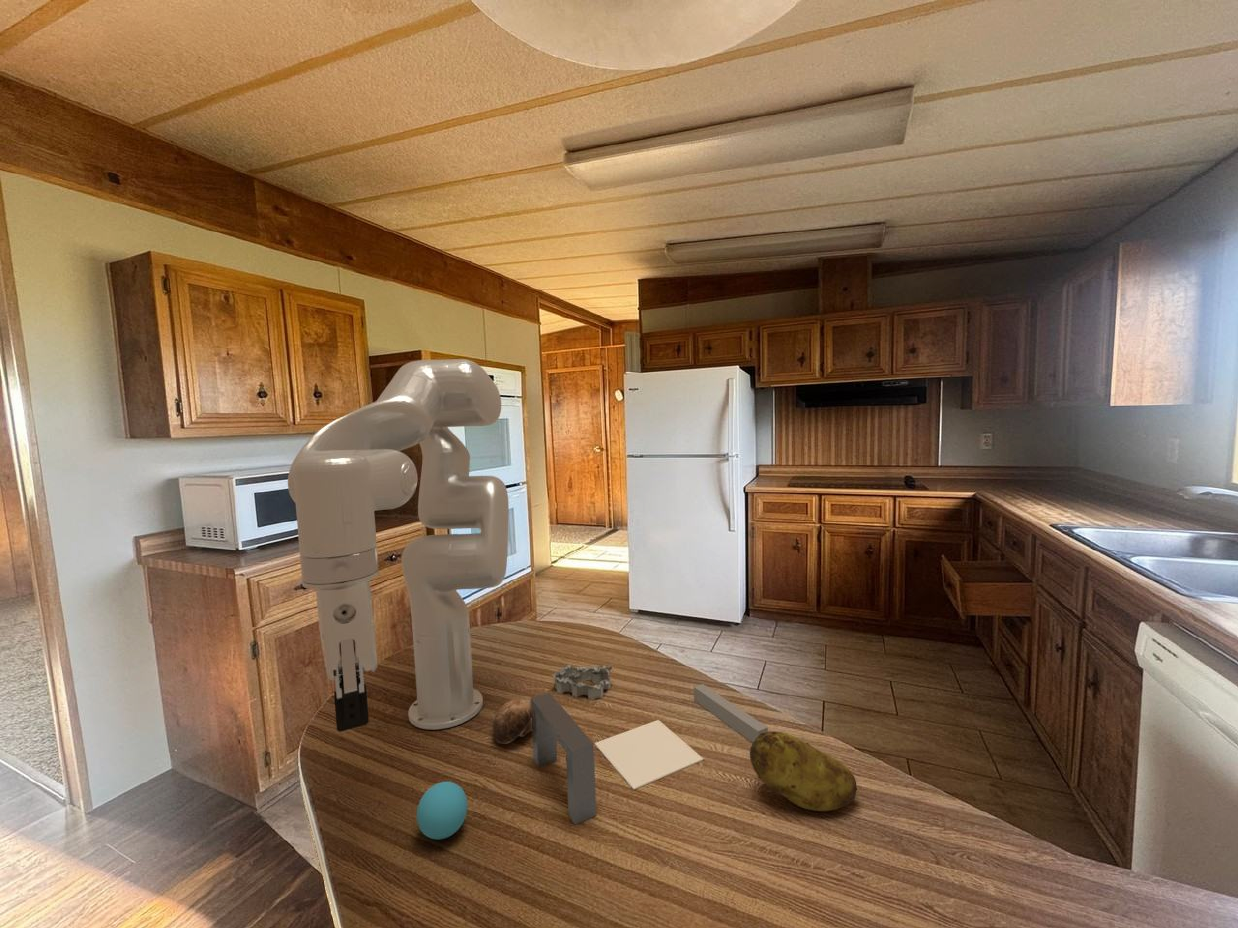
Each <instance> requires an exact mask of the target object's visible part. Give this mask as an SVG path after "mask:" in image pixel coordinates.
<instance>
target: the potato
mask: <svg viewBox="0 0 1238 928" xmlns="http://www.w3.org/2000/svg"><path fill="white" fill-rule="evenodd" d="M749 759H750V763H751V765H752V768H753V771H754V772H755V773H756V776H757V777H758V778H759V779H760V781H763V783H764V784H765V785H766V786H767V787H768V788H769V789H770V790H771V791H773V792H775V793H776V794H778V795H780V796H783V797H784V798H786V799H787V800H788V801H790V802H791V803H792V804H794V805H796V806H797V807H800V808H802V809H805V810H808V811H815V812H830V811H831V812H832V811H835V810H838V809H841V808H843V807H847V806H848V805H850V804H851V803H852V802H853V801H854V800H855V797H856V794H857V790H858V788H857V780H856V778H855V776H854V774H853V772H852V771H851V770H850V769H849V767H847V766H846V765H844V764H843V763H842V762H840V761H838V760H837V759H836V758H834V757H832V756H830V755H828V754H827V753H825V752H823V751H820V750H819V749H818V748H816V747H814V746H812V745H811V744H810V743H808V742H805V741H803V740H801V739H799V738H797V737H795V736H793V735H791V734H789V733H786V732H782V731H773V730H771V731H768V732H767V733H761V734H760V735H759V736H758V737H757V738H756V739H755V741H754V742H753V743H751V747H750V749H749Z"/></svg>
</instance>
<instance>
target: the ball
mask: <svg viewBox="0 0 1238 928" xmlns="http://www.w3.org/2000/svg"><path fill="white" fill-rule="evenodd" d="M416 808H417V809H416V822H417V826H418V828H419V831H420V832H421V833H422V834H423V835H424V836H426V837H427V838H430V839H432V840H444V839H447V838H449V837H451V836H452V835H454V834H455V833H456V832H457V831H458V830H459V829H460V828H461V827H462V825H463V823H464V822H465V819H466V817H467V814H468V798H467V795H466V793H465V791H464V789H463V788H462V787H461V786H459V784H456V783H455V782H452V781H440V782H438V783H436V784H435V783H434V784H433V785H432V786H431V787H429V788H428V789H427V790H426V791H425V792H424V793H423V794H422V796H421V798H420V800H419V803H418V804H417V807H416Z"/></svg>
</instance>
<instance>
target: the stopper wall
mask: <svg viewBox="0 0 1238 928" xmlns="http://www.w3.org/2000/svg"><path fill="white" fill-rule="evenodd" d="M693 700H694V701H695V702H696V703H697V704H698V705H700V706H701V707H703V708H704V709H705V710H707V711H708V712H709V713H711V714H712V715H714V716H715V717H716V718H718V719H719V720H720V721H722V722H723V723H725V724H726V725H727V726H728V727H730V728H731V729H733V730H734V731H735V732H737V733H738V734H740V735H741V736H742V737H744V738H745V739H747V740H748V741H749V742H751V744H753V742H754V741H755V739H756V738H757V737H758V736H759V735H760V734H761V733H767V732H769V729H768V728H769V727H768V726H767V725H765V724H764V723H762V722H761V721H759V720H758V719H756V718H754V717H753V716H751V715H750V714H748V713H747V712H745V711H744V710H743V709H741V708H740V707H738V706H736V705H735V704H734V703H732V702H731V701H729V700H727V699H726V698H724V697H723V696H722V695H720V694H719V693H717V692H716V691H715V690H713V689H711V688H710V687H708V686H707V685H705V684H703V683H702V684H698V685H696V686H694V687H693Z"/></svg>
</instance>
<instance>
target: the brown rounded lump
mask: <svg viewBox="0 0 1238 928" xmlns="http://www.w3.org/2000/svg"><path fill="white" fill-rule="evenodd" d="M492 722H493V723H492V732H493V736H494V739H495V741H496V742H497V743H498V744H503V745H507V744H510V743H512V742H514V741H515V740H516V739H517V738H518V737H521V738H522V737H525V736H526V735H527V734H529V733H530V732H532V716H531V699H528V698H521V697H519V698H512V699H511V700H509V701H506V702H505V703H504V704H503V705H502V706H501V707H500V708H499V709H498V711H497V712H496V714H495V716H494V719H493V721H492Z"/></svg>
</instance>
